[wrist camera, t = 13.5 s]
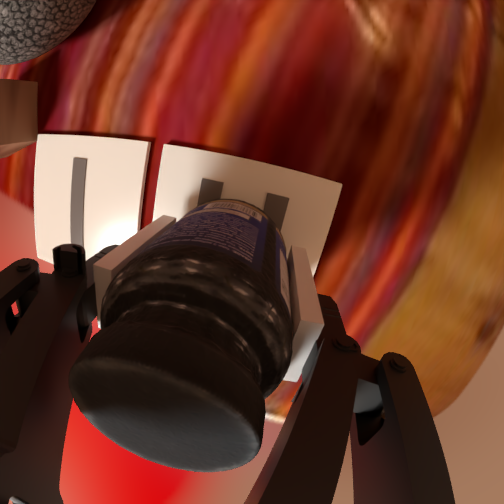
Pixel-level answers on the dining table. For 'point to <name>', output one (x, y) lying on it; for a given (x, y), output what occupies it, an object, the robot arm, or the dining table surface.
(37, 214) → the coaster
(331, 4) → the dining table surface
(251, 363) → the pill bottle
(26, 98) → the walnut block
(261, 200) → the coaster
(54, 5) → the decorative ball
